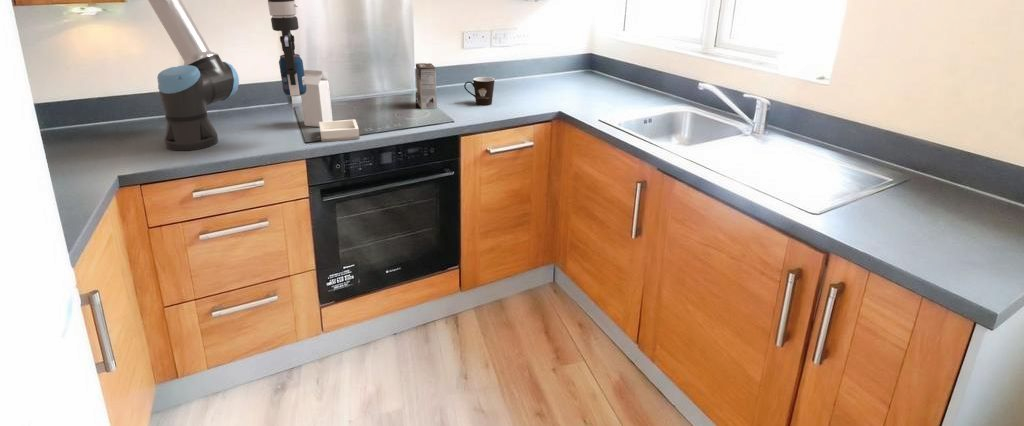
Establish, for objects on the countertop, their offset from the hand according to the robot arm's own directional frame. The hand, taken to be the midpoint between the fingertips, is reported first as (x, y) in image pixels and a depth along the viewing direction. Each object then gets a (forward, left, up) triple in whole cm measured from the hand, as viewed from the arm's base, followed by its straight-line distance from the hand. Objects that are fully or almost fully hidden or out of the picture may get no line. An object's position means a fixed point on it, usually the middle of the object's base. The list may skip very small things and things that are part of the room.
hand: (295, 92), depth 190 cm
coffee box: (+48, +35, -16) cm, 62 cm away
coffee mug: (+70, +34, -16) cm, 80 cm away
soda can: (0, 0, -1) cm, 1 cm away
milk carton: (+6, +19, -16) cm, 25 cm away
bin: (+12, +3, -16) cm, 20 cm away
